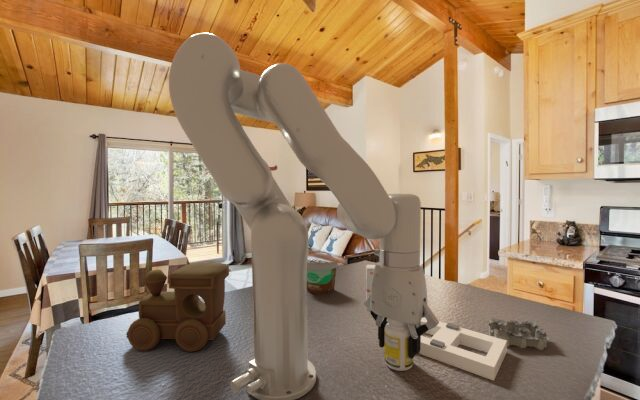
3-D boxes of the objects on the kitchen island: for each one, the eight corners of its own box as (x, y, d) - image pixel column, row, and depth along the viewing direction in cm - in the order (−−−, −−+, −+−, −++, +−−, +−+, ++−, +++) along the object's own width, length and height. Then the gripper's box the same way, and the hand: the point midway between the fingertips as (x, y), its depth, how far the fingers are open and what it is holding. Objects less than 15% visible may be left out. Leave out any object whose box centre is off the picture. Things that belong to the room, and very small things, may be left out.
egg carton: (495, 347, 67) (495, 329, 67) (485, 331, 75) (485, 314, 74) (552, 353, 65) (552, 334, 65) (535, 335, 72) (536, 318, 72)
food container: (296, 293, 100) (296, 262, 99) (303, 286, 106) (302, 257, 105) (333, 296, 96) (333, 265, 95) (338, 290, 102) (338, 260, 101)
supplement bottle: (408, 355, 64) (409, 309, 63) (416, 372, 58) (417, 321, 58) (381, 355, 64) (382, 309, 63) (387, 371, 58) (387, 321, 58)
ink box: (395, 304, 90) (395, 263, 89) (398, 311, 85) (398, 268, 84) (365, 303, 91) (365, 263, 90) (366, 310, 86) (366, 268, 85)
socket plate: (493, 380, 56) (494, 364, 55) (387, 342, 69) (387, 328, 69) (506, 352, 65) (507, 338, 65) (410, 322, 78) (410, 311, 78)
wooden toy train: (232, 329, 76) (230, 261, 75) (214, 355, 65) (212, 276, 63) (152, 327, 77) (149, 261, 76) (121, 353, 66) (117, 275, 64)
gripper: (351, 255, 62) (351, 342, 64) (437, 270, 51) (435, 376, 53) (370, 248, 68) (370, 329, 69) (452, 261, 57) (450, 357, 58)
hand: (398, 348), depth 61 cm, fingers closed on supplement bottle, 5 cm apart
